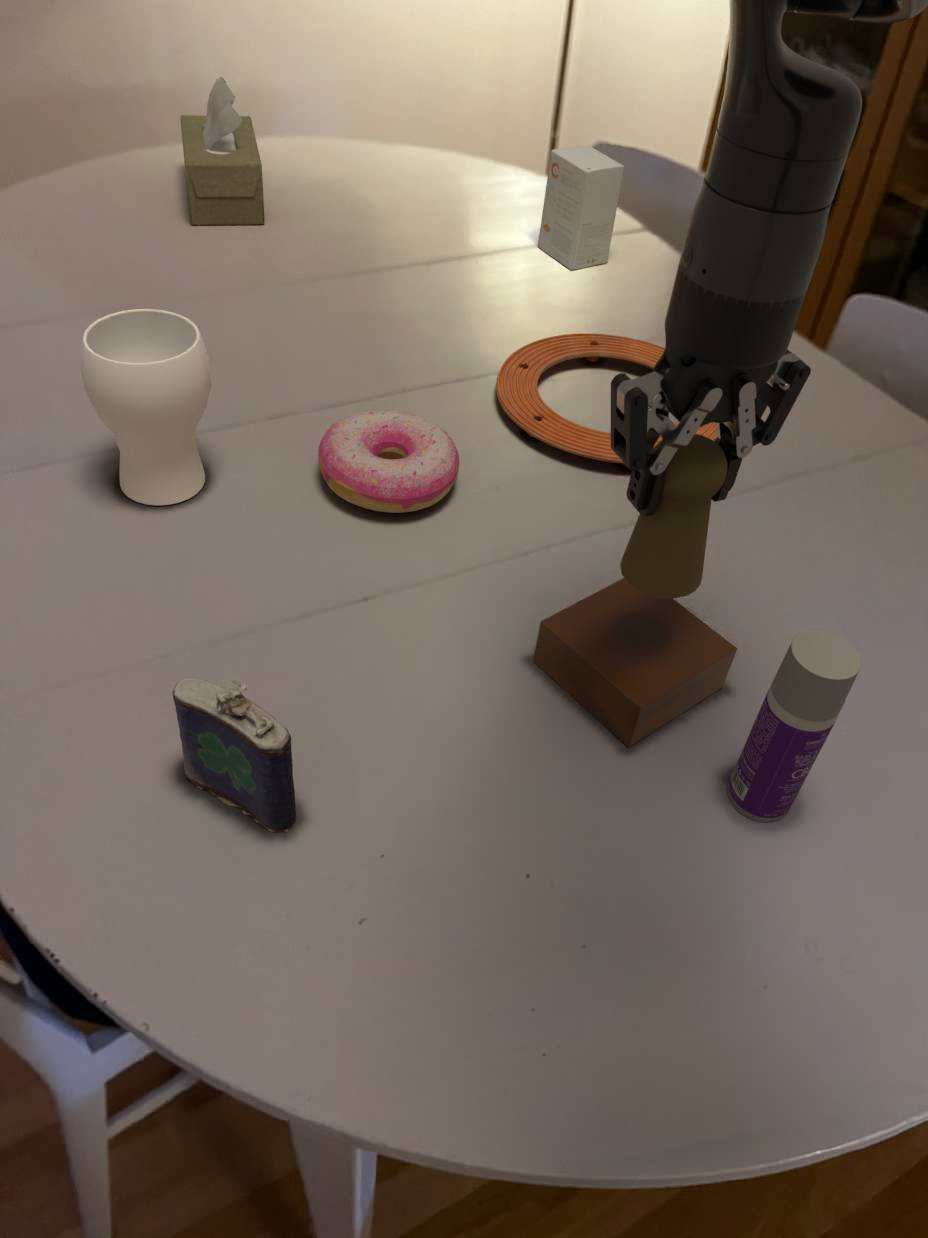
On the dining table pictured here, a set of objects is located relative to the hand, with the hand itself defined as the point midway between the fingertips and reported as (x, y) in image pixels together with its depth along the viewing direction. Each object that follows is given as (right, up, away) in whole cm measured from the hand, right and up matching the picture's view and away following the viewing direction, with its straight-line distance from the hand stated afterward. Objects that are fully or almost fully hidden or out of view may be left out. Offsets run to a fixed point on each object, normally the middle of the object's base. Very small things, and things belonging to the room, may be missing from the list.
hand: (677, 500), depth 71 cm
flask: (-30, -21, +1) cm, 37 cm away
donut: (-22, +5, +28) cm, 36 cm away
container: (+7, -21, +5) cm, 23 cm away
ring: (+1, +15, +42) cm, 44 cm away
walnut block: (-1, -13, +12) cm, 18 cm away
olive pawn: (0, -5, +5) cm, 7 cm away
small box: (0, +42, +70) cm, 81 cm away
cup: (-43, +5, +25) cm, 50 cm away
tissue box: (-49, +51, +73) cm, 101 cm away
